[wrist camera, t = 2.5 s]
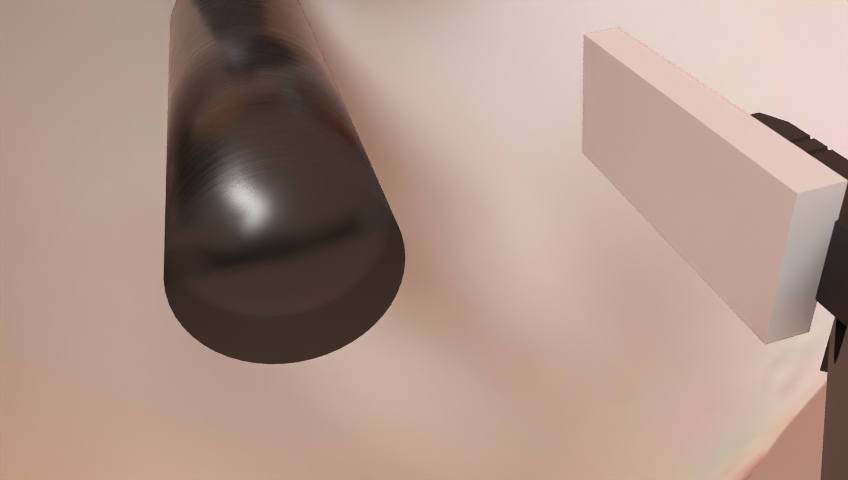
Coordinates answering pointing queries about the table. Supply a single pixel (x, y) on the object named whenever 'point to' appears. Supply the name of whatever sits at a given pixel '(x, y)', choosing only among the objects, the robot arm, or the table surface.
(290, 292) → the lever
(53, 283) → the table surface
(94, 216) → the table surface
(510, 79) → the table surface
